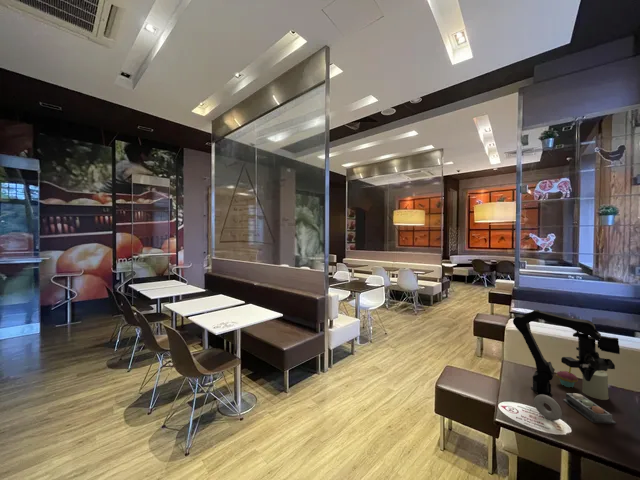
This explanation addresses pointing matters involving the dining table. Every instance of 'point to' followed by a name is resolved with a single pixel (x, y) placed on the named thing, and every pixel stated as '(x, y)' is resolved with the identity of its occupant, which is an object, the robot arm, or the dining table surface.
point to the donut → (551, 415)
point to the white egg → (577, 396)
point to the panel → (588, 410)
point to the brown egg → (597, 409)
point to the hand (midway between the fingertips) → (587, 380)
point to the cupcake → (567, 378)
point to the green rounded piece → (587, 402)
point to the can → (597, 386)
